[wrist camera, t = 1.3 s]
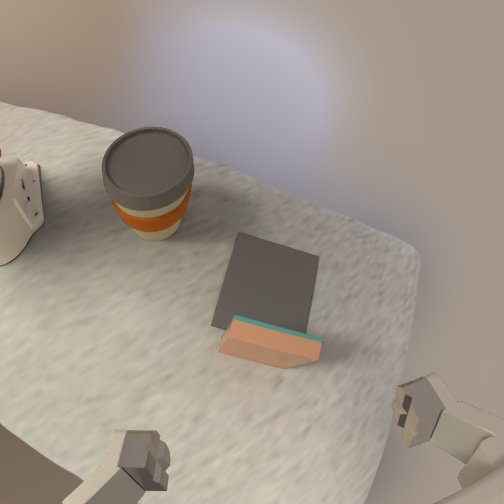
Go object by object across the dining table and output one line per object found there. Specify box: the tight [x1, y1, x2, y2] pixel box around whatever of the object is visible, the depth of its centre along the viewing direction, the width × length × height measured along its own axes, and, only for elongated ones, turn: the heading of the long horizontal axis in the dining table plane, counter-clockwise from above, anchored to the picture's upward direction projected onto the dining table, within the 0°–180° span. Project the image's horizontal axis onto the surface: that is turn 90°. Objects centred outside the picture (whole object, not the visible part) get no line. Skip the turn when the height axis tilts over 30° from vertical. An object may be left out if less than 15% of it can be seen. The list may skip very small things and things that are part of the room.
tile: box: [218, 315, 323, 369], centre depth 39 cm, size 2×10×14 cm, turn 76°
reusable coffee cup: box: [102, 127, 194, 241], centre depth 45 cm, size 13×13×15 cm
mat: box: [211, 232, 318, 334], centre depth 49 cm, size 16×14×1 cm
